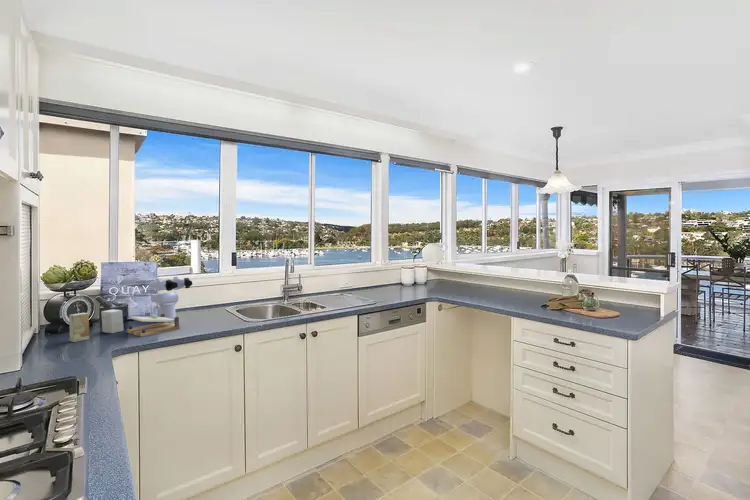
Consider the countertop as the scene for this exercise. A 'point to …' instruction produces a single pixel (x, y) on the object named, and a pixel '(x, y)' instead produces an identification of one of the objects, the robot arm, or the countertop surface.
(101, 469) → the countertop surface
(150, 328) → the oak base
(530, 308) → the countertop surface
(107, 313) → the small box
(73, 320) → the skincare box
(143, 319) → the levelling plate
